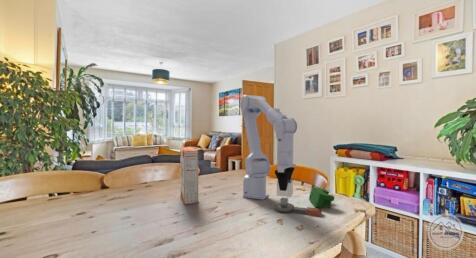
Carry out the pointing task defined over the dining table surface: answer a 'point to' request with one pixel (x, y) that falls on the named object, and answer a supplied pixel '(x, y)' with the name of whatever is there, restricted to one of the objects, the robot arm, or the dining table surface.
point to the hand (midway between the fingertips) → (284, 188)
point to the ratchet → (295, 208)
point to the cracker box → (189, 175)
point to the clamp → (320, 197)
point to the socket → (288, 191)
